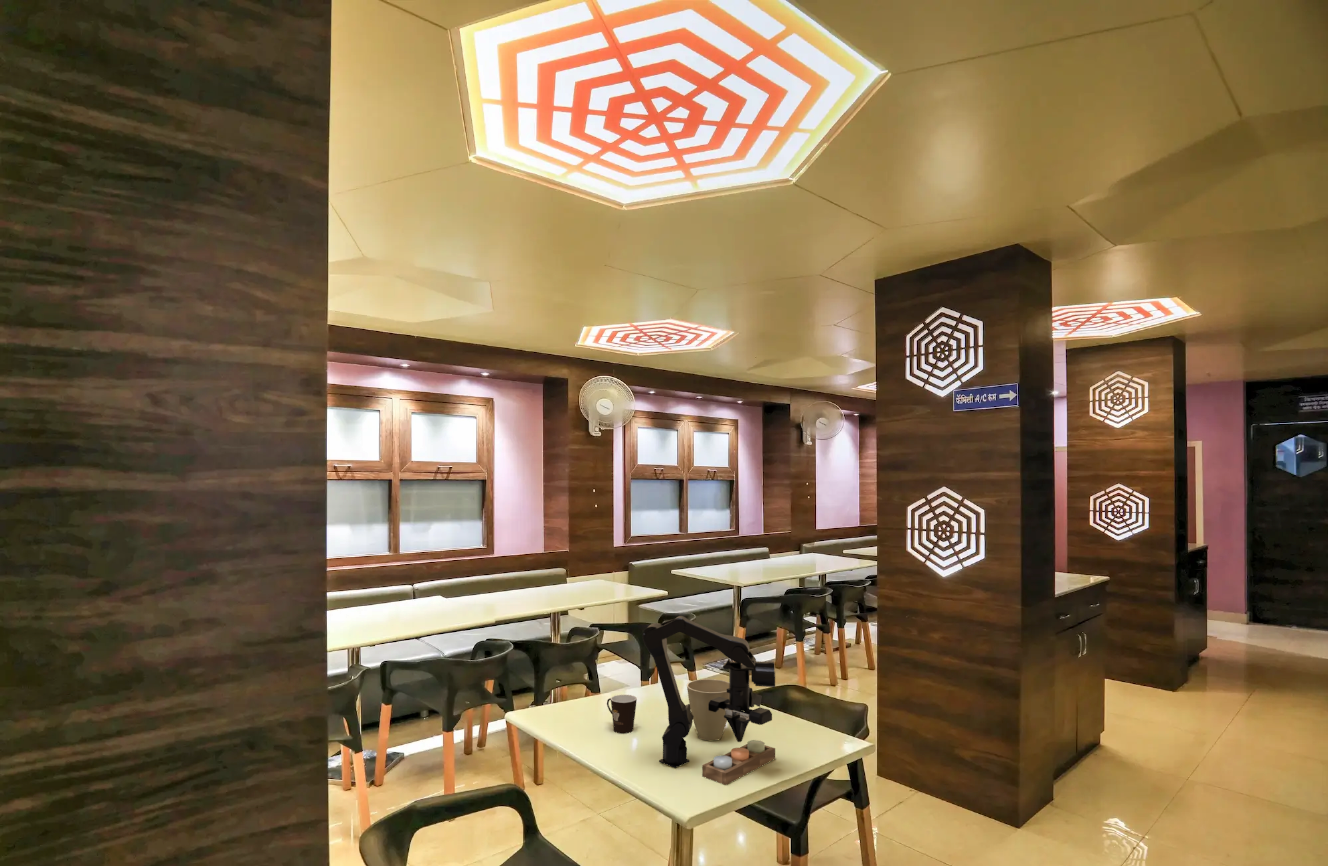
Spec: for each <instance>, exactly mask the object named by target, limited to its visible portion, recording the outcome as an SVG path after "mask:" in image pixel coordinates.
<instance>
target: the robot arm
mask: <svg viewBox="0 0 1328 866" xmlns="http://www.w3.org/2000/svg"><path fill="white" fill-rule="evenodd" d="M678 633H682V634H683V635H686V636H688V637H691V638H693V639H695V640H696V641H697V640H698V641H699V642H701V643H704V644H707V645H708V646H710V647H712V648H715V649H717V651H719V652H720V653H721V654H723V655H724V656H725V657H726V658H728V659H727V660H726V661H725V662H724V663H723V665H722V669H723V670H728V671H729V672H728V673H729V675H728V676H729V677H728V678H729V680H728V681H729V688H728V689H727V693H729V699H726V698H723V697H717V698H715V699H712V700H710V701H709V703H708V710H709V711H713V712H717V711H718V710H719V708H721V709H724V710H725V715H724V718H726V719H727V723H728V725H729V727H730V729H731V730H732V732H733V735H734V737H735V739H736V741H737V742H738V743H741V742H742V741H743V739H744V736H745V732H746V729H747V727H748V725H749V723H752V724H755V725H759V726H761V725H762V726H763V725H765V724H766V723H770V722H771V721H773V713H772V711H771V710H770V709H767V708H764V707H761V703H762V696H763V695H761V694H757V693H753V691H754V690H753V688H752V687H750V671H751V683H753V685H755V687H765V688H766V687H767V688H769V687H770V688H776V671H775V670H776V669H775V662H774V661H772V660H771V661H770V660H769V661H758V660H757V658H755V656H754V654H753V652H751V649H750V645H749V643H748V641H747V640H746V639H744V638H743V637H739V636H736V635H730V634H729V635H728V634H723V633H720V632H718V631H716V630H713V629H711V628H709V627H706V626H704V625H702V624H700V623H698V622H695V621H694V620H691V619H688V618H687V617H686V616H683V615H679V616H677V617H676V618H673V619H670V620H666V621H663V622H661V623H658V622H654V623H651V624H650V625H648V626H647V627H646V628H645V629H644V631H643V633H642V635H641V636H642V641H643V644H644V646H645V647H646V649H647V651H648V652H649V654H650V655H651V657H652V658H653V661H654V663H655V667H656V670H657V675H658V677H659V680H660V684H661V687H662V688H661V689H662V690H663V694H664V697H665V702H666V705H667V715H668V716H667V717H668V718H667V719H668V726H666V728H665V731H664V732H663V734H662V737H661V739H662V758H661V759H659V760H658V762H659V763H661V764H663V765H666V766H669V767H671V768H674V769H676V768H679V767H681V766H683V765H685V764H687V763H690V759H689V758H688V748H687V741H686V740H685V738H686V737H687V736H688V735H689V733H690V731H691V729H692V726H693V723H694V721H693V718H694V716H693V715H692V713H691V709H690V703H688V704H685V703H684V702H683V699H682V697H681V693H680V690H679V688H678V687H679V686H678V684H677V681H676V677H675V674H674V671H673V667H672V664H671V660H670V657H669V654H668V640H667V638H670V637H671V636H673V635H676V634H678ZM755 706H756V707H758V708H754V707H755ZM751 708H754V709H751Z"/></svg>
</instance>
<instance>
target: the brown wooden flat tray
mask: <svg viewBox="0 0 1328 866" xmlns="http://www.w3.org/2000/svg"><path fill="white" fill-rule="evenodd" d="M739 748H745V749H747V743H746V744H743V746H740V747H739ZM723 756H728V757H731V751H729V752H727V753H725V754H723ZM773 759H774V760H776V748H775V747H772V746H768V745H765V751H763V752H761V753H759V754H758V753H754V752H751V751H749V759H747V760H745V761H743V762H741V761H738V760H735V759H732V767H731V768H729V769H727V770H725V771H724V770H721V769H719V768H716V767H714V759H712V760H710V761H708V762H705V763H703V764H702V766H701V767H702V772H701V773H702V774H701V775H702V776H701V777H703V778H705V777H706V778H705V779H708V780H710V779H711V781H713V782H716V781H717V782H716V783H718V784H721V783H722V785H724V786H727V785H728V784H731V783H732V781H733V782H734V780H735V781H736V779H737V780H738V779H740V778H742V777H744V776H745V775H748V774H749V773H752V772H753V770H754V771H755V770H757V769H759V768H761V767H763V766H765V765H767V764H768V762H769V761H771V762H773V761H774V760H773ZM772 760H773V761H772ZM766 763H767V764H766ZM769 763H770V762H769ZM764 764H765V765H764ZM762 765H763V766H762ZM758 767H759V768H758ZM751 771H752V772H751ZM747 773H748V774H747ZM743 775H744V776H743ZM739 777H740V778H739Z"/></svg>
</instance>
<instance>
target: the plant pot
mask: <svg viewBox="0 0 1328 866" xmlns="http://www.w3.org/2000/svg"><path fill="white" fill-rule="evenodd" d="M686 687H687V689H686V690H687V696H688V702H689V703H688V704H690V709H691V713H692V715H693V716H694V718H693V720H692V721H693V724H694V727H695V731H696V733H697V736H698V738H699V739H701V740H703V741H707V740H715V741H718V739H719V740H720V739H722V737H723V735H724V732H725V728H726V725H727V723H728V721H727V719H726V718H724V715H725V710H724V709H721V708H719V710H718V711H717V712H713V711H709V710H708V703H709V701H710V700H712V699H715V698H717V697H723V698H726V699H729V693H727V689H728V688H729V682H728V681H726V680H722V679H715V678H714V679H713V678H702V679H701V678H700V679H695V680H694V679H693V680H692V681H689V682H688V683H687V684H686Z"/></svg>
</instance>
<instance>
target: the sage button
mask: <svg viewBox="0 0 1328 866" xmlns="http://www.w3.org/2000/svg"><path fill="white" fill-rule="evenodd" d="M746 744H747V750H749V751H751V752H754V753H758V754H759V753H761V752H763V751H765V742H764V741H763V740H757V739H753V740H752V739H751V740H748V741H747V743H746Z"/></svg>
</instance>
